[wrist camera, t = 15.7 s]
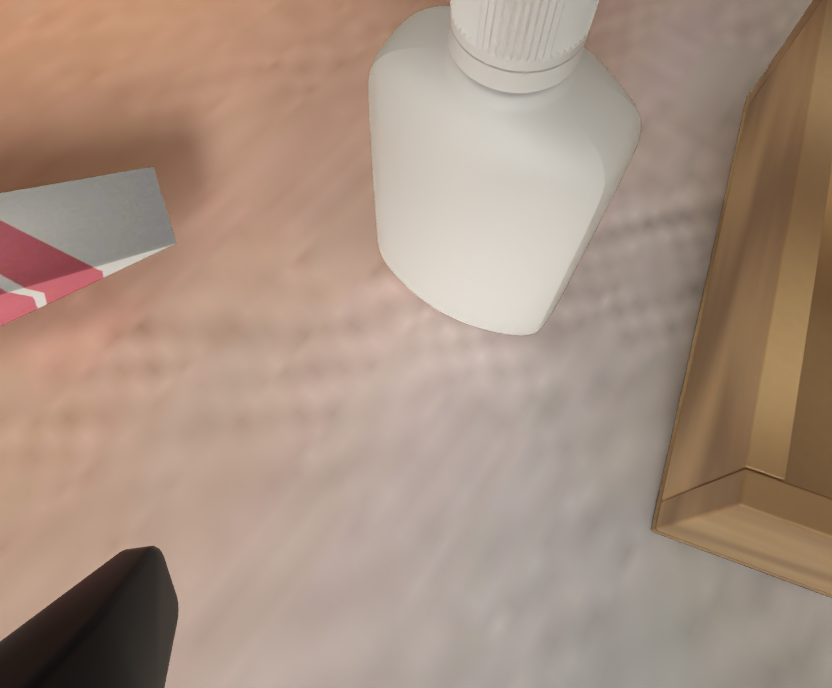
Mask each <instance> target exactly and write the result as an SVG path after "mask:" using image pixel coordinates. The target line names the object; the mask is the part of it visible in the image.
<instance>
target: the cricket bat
mask: <svg viewBox="0 0 832 688" xmlns="http://www.w3.org/2000/svg"><path fill="white" fill-rule="evenodd" d="M174 244H176V240H175V237H174V233H173V230H172V226H171V223H170V220H169V216H168V213H167V210H166V206H165V203H164V200H163V196H162V193H161V190H160V186H159V183H158V180H157V176H156V173H155V170H154V167H148V168H143V169H137V170H131V171H125V172H120V173H114V174H108V175H102V176H97V177H91V178H85V179H79V180H74V181H68V182H62V183H57V184H51V185H45V186H39V187H34V188H28V189H22V190H16V191H11V192H5V193H0V326H2V325H4V324H6V323H9V322H11V321H13V320H15V319H17V318H19V317H21V316H23V315H26V314H28V313H30V312H32V311H34V310H36V309H38V308H40V307H43V306H45V305H47V304H49V303H51V302H53V301H55V300H57V299H60V298H62V297H64V296H66V295H68V294H70V293H72V292H74V291H76V290H79V289H81V288H83V287H85V286H87V285H89V284H91V283H93V282H96V281H98V280H100V279H102V278H104V277H106V276H108V275H110V274H113V273H115V272H117V271H119V270H121V269H123V268H125V267H127V266H130V265H132V264H134V263H136V262H138V261H140V260H142V259H144V258H147V257H149V256H151V255H153V254H155V253H157V252H159V251H161V250H164V249H166V248H168V247H170V246H172V245H174Z"/></svg>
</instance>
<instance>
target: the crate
mask: <svg viewBox="0 0 832 688" xmlns="http://www.w3.org/2000/svg"><path fill="white" fill-rule="evenodd" d="M651 531H652V532H654V533H657V534H660V535H663V536H665V537H668V538H671V539H674V540H676V541H679V542H682V543H684V544H687V545H690V546H693V547H695V548H698V549H701V550H703V551H706V552H709V553H712V554H714V555H717V556H720V557H722V558H725V559H728V560H731V561H733V562H736V563H739V564H742V565H744V566H747V567H750V568H752V569H755V570H758V571H761V572H763V573H766V574H769V575H771V576H774V577H777V578H780V579H782V580H785V581H788V582H790V583H793V584H796V585H799V586H801V587H804V588H807V589H809V590H812V591H815V592H818V593H820V594H823V595H826V596H829V597H831V598H832V0H813V1H812V3H811V4H810V6H809V7H808V9H807V10H806V12H805V13H804V15H803V16H802V18H801V19H800V21H799V22H798V23H797V25H796V26H795V28H794V29H793V31H792V32H791V34H790V35H789V37H788V38H787V40H786V41H785V43H784V44H783V46H782V47H781V48H780V50H779V51H778V53H777V54H776V56H775V57H774V59H773V60H772V62H771V63H770V65H769V66H768V68H767V69H766V71H765V72H764V73H763V75H762V76H761V78H760V79H759V81H758V82H757V84H756V85H755V87H754V88H753V90H752V92H750V93H749V95H748V96H747V99H746V103H745V108H744V112H743V117H742V121H741V126H740V130H739V135H738V139H737V144H736V148H735V153H734V157H733V162H732V166H731V171H730V175H729V180H728V184H727V189H726V194H725V198H724V203H723V207H722V212H721V216H720V221H719V225H718V230H717V234H716V239H715V243H714V248H713V252H712V257H711V261H710V266H709V270H708V275H707V279H706V284H705V288H704V293H703V297H702V302H701V306H700V311H699V316H698V320H697V325H696V329H695V334H694V338H693V343H692V347H691V352H690V356H689V361H688V365H687V370H686V374H685V379H684V383H683V388H682V392H681V397H680V401H679V406H678V410H677V415H676V419H675V424H674V428H673V433H672V437H671V442H670V447H669V451H668V456H667V460H666V465H665V469H664V474H663V478H662V483H661V487H660V492H659V496H658V501H657V505H656V510H655V514H654V519H653V523H652V528H651Z"/></svg>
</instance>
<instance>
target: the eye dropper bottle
mask: <svg viewBox="0 0 832 688" xmlns="http://www.w3.org/2000/svg"><path fill="white" fill-rule="evenodd" d="M598 2H599V0H451V3H450V6H436V7H431V8H426V9H422V10H420V11H418V12H416V13H414V14H413V15H411V16H409V17H408V18H407V19H406V20H405V21H404V22H403V23H402V24H401V25H400V26H399V27H398V28H397V29H396V30H395V31H394V32H393V33H392V35H391V36H390V37H389V38H388V40H387V41H386V42H385V43H384V45H383V46H382V48H381V49H380V51H379V52H378V54H377V55H376V57H375V59H374V62H373V65H372V68H371V71H370V74H369V84H368V92H369V121H370V137H371V153H372V169H373V184H374V199H375V213H376V227H377V241H378V247H379V250H380V254H381V256H382V258H383V260H384V261H385V262H386V264H387V265H388V267H389V268H390V269H391V270H392V272H393V273H394V274H395V275H396V276H397V277H398V279H399V280H400V281H401V282H402V283H403V284H404V285H405V286H406V287H407V288H408V289H410V290H411V291H412V292H413V293H414V294H415V295H417V296H418V297H419V298H421V299H422V300H423V301H424V302H426V303H427V304H429V305H430V306H432V307H433V308H435V309H437V310H439V311H440V312H442V313H444V314H446V315H448V316H450V317H452V318H454V319H456V320H458V321H461V322H463V323H466V324H468V325H471V326H474V327H477V328H481V329H484V330H488V331H492V332H497V333H502V334H508V335H519V336H524V335H529V334H533V333H536V332H537V331H538V330H539V329H541V328H542V327H543V326H544V324H545V323H546V321H547V320H548V318H549V317H550V315H551V314H552V312H553V310H554V308H555V307H556V305H557V303H558V302H559V300H560V298H561V296H562V294H563V293H564V291H565V289H566V287H567V285H568V283H569V281H570V279H571V277H572V275H573V273H574V271H575V269H576V268H577V266H578V264H579V262H580V260H581V258H582V256H583V254H584V252H585V250H586V248H587V246H588V244H589V242H590V240H591V238H592V236H593V234H594V232H595V231H596V229H597V227H598V225H599V223H600V221H601V219H602V217H603V215H604V213H605V211H606V209H607V207H608V205H609V203H610V201H611V199H612V197H613V195H614V193H615V191H616V189H617V187H618V185H619V183H620V181H621V179H622V177H623V175H624V173H625V171H626V169H627V167H628V164H629V162H630V160H631V158H632V156H633V154H634V152H635V150H636V147H637V144H638V141H639V138H640V131H641V119H640V116H639V113H638V111H637V109H636V106H635V104H634V102H633V101H632V99H631V98H630V96H629V95H628V93H627V92H626V91H625V89H624V88H623V87H622V86H621V84H620V83H619V82H618V81H617V79H616V78H615V77H614V76H613V75H612V74H611V72H610V71H609V70H608V69H607V68H606V67H605V66H604V65H603V64H602V63H601V62H600V61H599V60H598V59H597V58H596V57H595V56H594V55H593V54H592V53H591V52H590V51H589V50H587V49H586V48H585V47H584V45H585V42H586V39H587V36H588V33H589V30H590V27H591V24H592V21H593V18H594V15H595V11H596V8H597V5H598Z"/></svg>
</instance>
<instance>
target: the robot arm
mask: <svg viewBox="0 0 832 688" xmlns="http://www.w3.org/2000/svg"><path fill="white" fill-rule="evenodd" d="M177 620H178V600H177V596H176V592H175V589H174V586H173V583H172V580H171V577H170V574H169V571H168V568H167V565H166V562H165V559H164V556H163V554H162V552H161V551H160V549H159V548H157V547H155V546H148V547H141V548H133V549H126V550H124V551H121V552H120V553H118V554H117V555H116V556H114V557H113V558H112V559H110V560H109V561H108V562H106V563H105V564H104V565H102V566H101V567H100V568H98V569H97V570H96V571H94V572H93V573H92V574H90V575H89V576H88V577H86V578H85V579H83V580H82V581H81V582H79V583H78V584H77V585H75V586H74V587H73V588H71V589H70V590H69V591H67V592H66V593H65V594H63V595H62V596H61V597H59V598H58V599H57V600H55V601H54V602H53V603H51V604H50V605H49V606H47V607H46V608H45V609H43V610H42V611H41V612H39V613H38V614H37V615H35V616H34V617H33V618H31V619H30V620H29V621H27V622H26V623H25V624H23V625H22V626H21V627H19V628H18V629H16V630H15V631H14V632H12V633H11V634H10V635H8V636H7V637H6V638H4V639H3V640H2V641H0V688H164V687H165V681H166V676H167V671H168V666H169V661H170V656H171V651H172V646H173V641H174V635H175V630H176V625H177Z"/></svg>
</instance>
